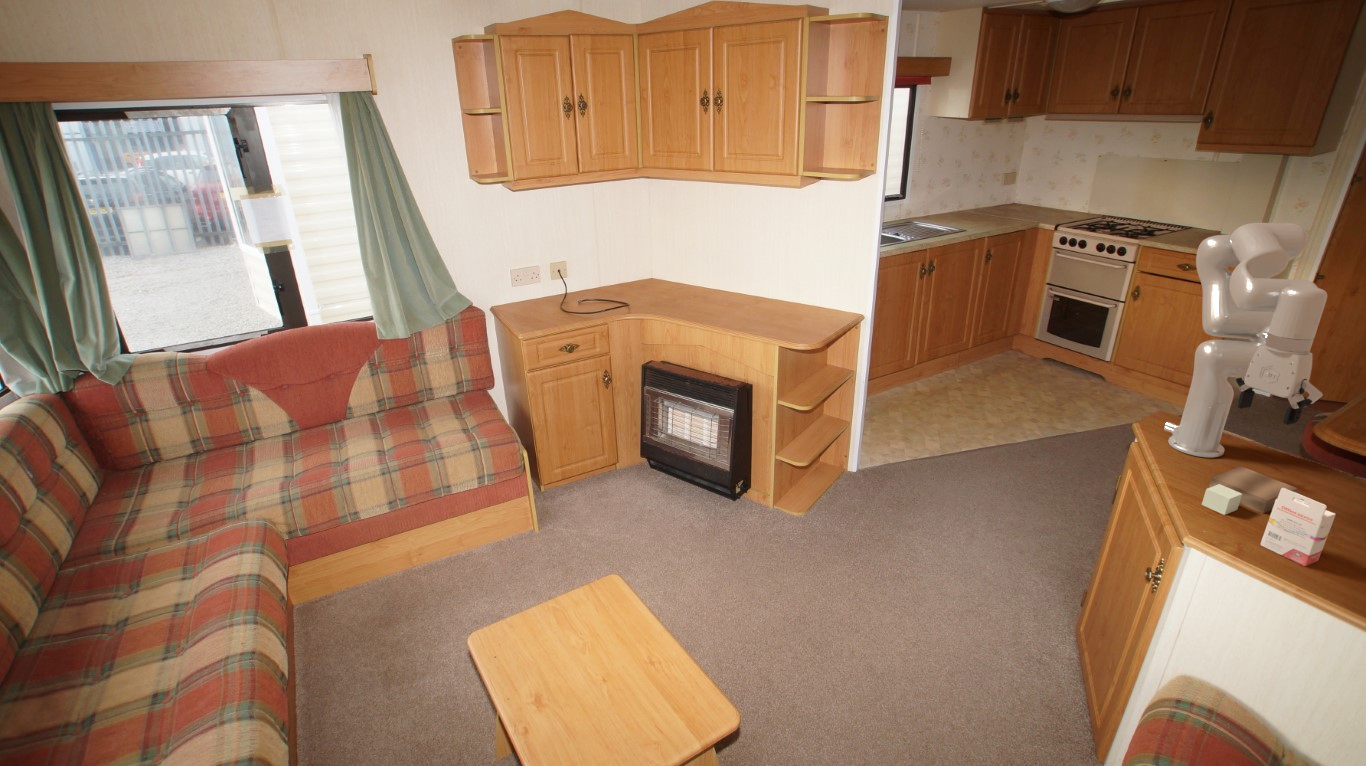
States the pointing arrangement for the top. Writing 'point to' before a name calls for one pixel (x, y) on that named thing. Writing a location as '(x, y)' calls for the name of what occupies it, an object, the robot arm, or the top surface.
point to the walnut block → (1252, 487)
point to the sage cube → (1221, 499)
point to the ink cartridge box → (1297, 527)
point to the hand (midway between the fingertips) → (1266, 415)
